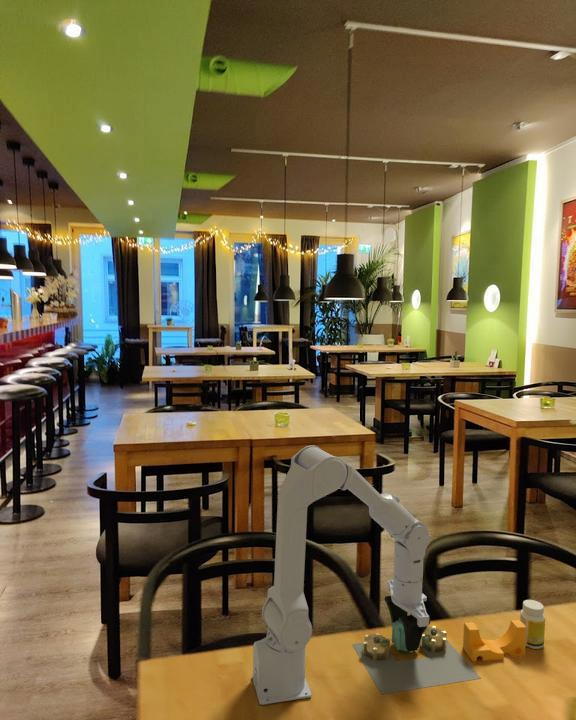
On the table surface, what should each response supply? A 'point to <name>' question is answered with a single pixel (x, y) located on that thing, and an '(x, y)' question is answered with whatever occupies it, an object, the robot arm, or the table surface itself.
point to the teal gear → (399, 635)
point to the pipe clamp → (495, 642)
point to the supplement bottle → (533, 623)
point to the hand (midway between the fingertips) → (405, 640)
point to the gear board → (414, 663)
